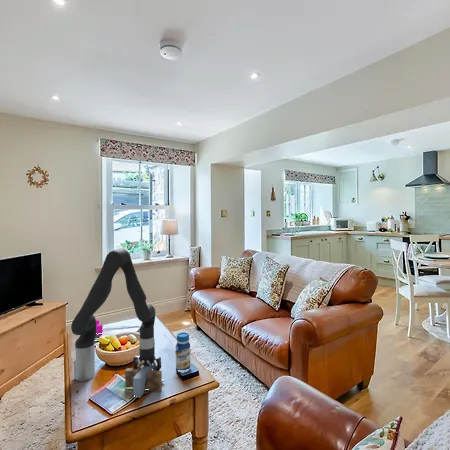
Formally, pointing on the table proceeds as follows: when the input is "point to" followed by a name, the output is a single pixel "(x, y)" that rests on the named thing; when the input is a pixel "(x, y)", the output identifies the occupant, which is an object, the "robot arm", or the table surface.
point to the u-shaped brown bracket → (152, 383)
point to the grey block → (140, 381)
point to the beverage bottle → (183, 352)
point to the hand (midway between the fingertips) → (147, 377)
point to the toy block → (99, 327)
